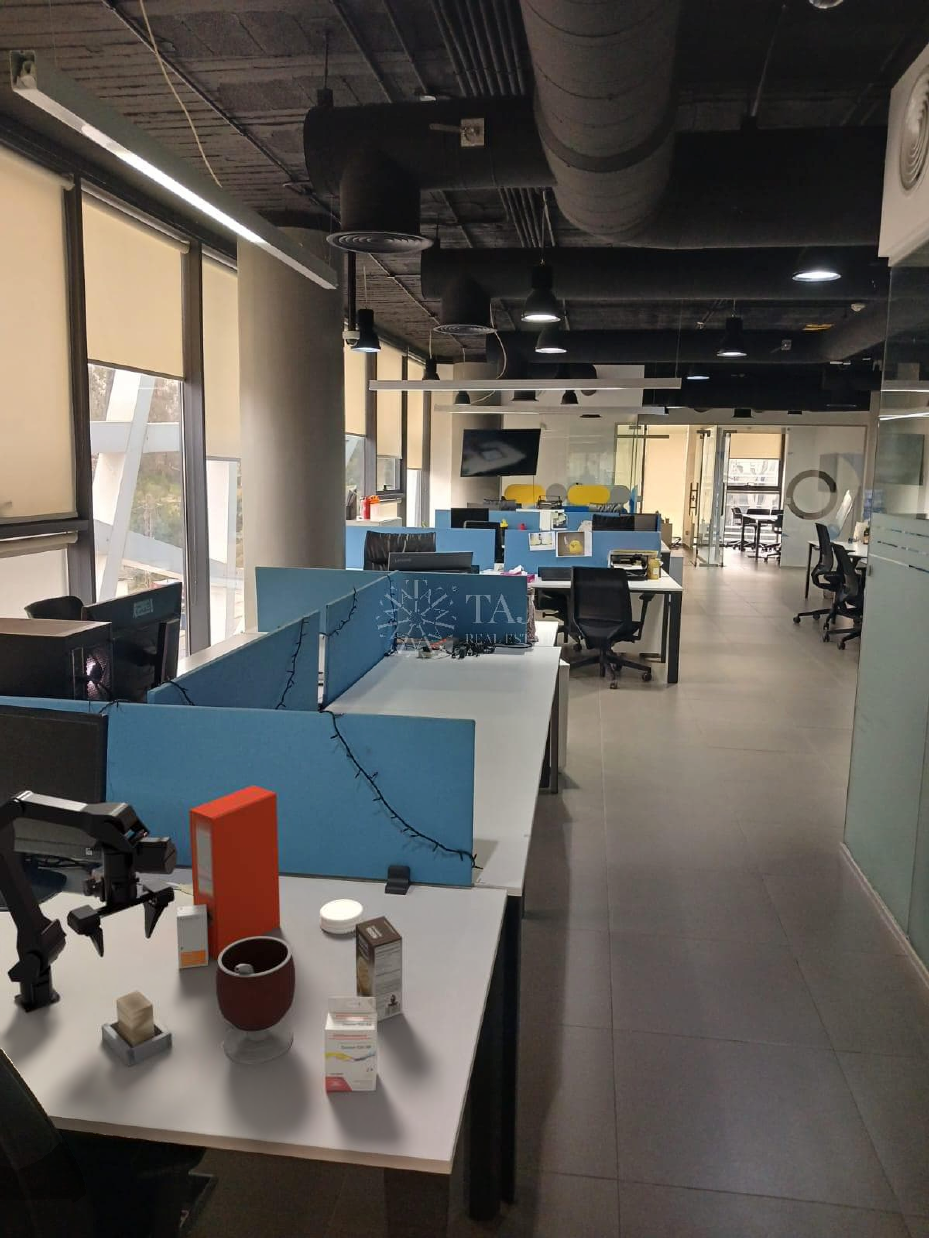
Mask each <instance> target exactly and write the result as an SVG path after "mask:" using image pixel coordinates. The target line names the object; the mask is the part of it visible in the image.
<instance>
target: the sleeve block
mask: <svg viewBox="0 0 929 1238" xmlns="http://www.w3.org/2000/svg"><path fill="white" fill-rule="evenodd" d="M115 1001H116V1002H115V1003H116V1004H115V1005H116V1014H117V1015H116V1016H117V1018H118V1032H119V1034H118V1035H119V1036H120V1037H121V1038H122V1039H123V1040H124V1041H125V1042H126V1043H127V1044H128V1045H129V1046H130V1047H131V1048H133V1047H135V1046H137V1045H139V1044H141V1043H144V1042H146V1041H148V1040H150V1039H152V1038H154V1037H155V1034H154V1018H153V1016H154V1007H153V1006H154V1005H153V1003H152V1002H151V1001H150V1000H149V999H148V998H147V997H146V996H145V995H143V994H142V992H141V991H139V990H138V989H136V990H134V991H131V992H130V993H127V994H125V995H123V996H121V997H119V998H116V999H115ZM117 1018H116V1019H117Z"/></svg>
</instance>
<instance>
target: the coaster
mask: <svg viewBox="0 0 929 1238" xmlns="http://www.w3.org/2000/svg"><path fill="white" fill-rule="evenodd" d="M364 915H365V914H364V907H363V906H362V904H361V903H360V902H358V901H356V900H353V899H336V900H332V901H330V902H328V903H326V904H325V905H323V906H322V907H321V908H320V910H319V925H320V927H321V929H322V930H323V931H325V932H328V933H329V934H339V935H341V934H342V935H343V934H348V932H349V933H352V932H354V930H355V931H356V926H355V925H356V924H358V923H362V922H365V919H364ZM351 931H352V932H351Z"/></svg>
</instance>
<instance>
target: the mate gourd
mask: <svg viewBox="0 0 929 1238" xmlns="http://www.w3.org/2000/svg"><path fill="white" fill-rule="evenodd" d="M295 989H296V967H295V962H294V957H293V953H292V949H291V946H290V945H289V943H288V942H286V941H285V940H283V939H281V938H278V937H274V936H269V935H266V936H265V935H262V936H257V937H250V938H245V939H242V940H239V941H236V942H234V943H232V944H230V945H229V946H227V947H226V948H225V949H224V950H223V951H222V952H221V953H220V955H219V957H218V960H217V966H216V973H215V991H216V992H215V993H216V994H215V995H216V999H217V1003H218V1008H219V1011H220V1012H221V1015H222V1017H223V1018H224V1020H226V1021H227V1022H228V1023H229V1024H230V1025H232V1028H230V1030H228V1031H227V1033H226V1034H225V1036H224V1039H223V1051H224V1052H225V1054H226V1056H227V1057H228V1058H229V1059H230V1060H232V1061H234V1062H236V1063H240V1064H246V1065H256V1064H262V1063H267V1062H269V1061H272V1060H274V1059H276V1058H278V1057H280V1056H281V1055H283V1054H284V1053H285V1052H287V1050H288V1049H289V1048H290V1047H291V1045H292V1042H293V1036H294V1035H293V1030H292V1027H291V1026H290V1024H289V1023H287V1022H286V1021H284V1020H283V1019H284V1017H285V1016H286V1015H287V1013H288V1011H289V1010H290V1008H291V1007H292V1005H293V1001H294V998H295V997H294V996H295Z"/></svg>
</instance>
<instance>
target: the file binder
mask: <svg viewBox="0 0 929 1238" xmlns="http://www.w3.org/2000/svg"><path fill="white" fill-rule="evenodd" d="M277 794H278V793H276V792H274V791H271V790H268V789H265V788H262V787H259V786H257V785H251V786H248V787H245V788H243V789H239V790H237V791H234V792H233V793H230V794H227V795H225V796H222V797H220V798H219V797H218V798H217V799H213V800H211V801H209V802H206V803H204V804H202V805H201V804H200V805H198V806H196V807H193V808H190V809H189V810H188V812H189V813H188V814H189V834H190V835H189V837H190V854H191V856H190V857H191V858H190V859H191V875H192V876H191V877H192V897H193V905H203V904H207V929H208V957H211V958H213V959H215V960H217V961H218V957H219V955H220V953H221V952H222V951H223V950H224V949H225V948H226V947H227V946H229V945H230V944H232V943H234V942H236V941H239V940H242V939H245V938H250V937H257V936H264V935H266V934H267V932H268V933H270V932H271V931H273V930H275V929H276V927H277V928H278V927H280V925H281V913H280V912H281V909H280V908H281V906H280V904H281V903H280V875H279V874H280V873H279V872H280V870H279V837H278V836H279V835H278V834H279V833H278V805H277V803H278V798H277V797H278V795H277ZM274 928H275V929H274ZM263 934H264V935H263Z"/></svg>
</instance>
